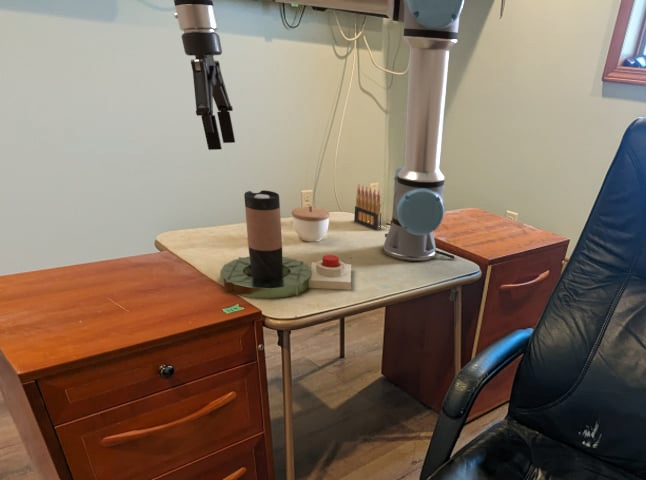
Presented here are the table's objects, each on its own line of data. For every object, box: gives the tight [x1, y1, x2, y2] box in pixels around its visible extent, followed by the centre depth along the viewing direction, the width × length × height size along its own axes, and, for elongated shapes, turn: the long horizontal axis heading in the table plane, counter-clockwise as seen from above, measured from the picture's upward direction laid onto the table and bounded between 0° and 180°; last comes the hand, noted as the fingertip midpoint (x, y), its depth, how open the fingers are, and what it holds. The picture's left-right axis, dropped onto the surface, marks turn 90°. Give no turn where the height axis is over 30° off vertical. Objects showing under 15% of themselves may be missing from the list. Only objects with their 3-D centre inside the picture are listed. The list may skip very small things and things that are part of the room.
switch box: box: [308, 259, 352, 291], centre depth 128 cm, size 10×12×4 cm
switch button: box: [321, 254, 340, 268], centre depth 126 cm, size 4×4×2 cm
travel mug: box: [243, 190, 284, 280], centre depth 119 cm, size 8×8×20 cm
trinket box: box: [291, 205, 330, 243], centre depth 151 cm, size 11×11×9 cm
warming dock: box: [219, 255, 312, 300], centre depth 124 cm, size 21×21×2 cm
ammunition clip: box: [353, 183, 382, 231], centre depth 166 cm, size 11×2×12 cm, turn 49°
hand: (222, 146), depth 118 cm, fingers open, 13 cm apart
